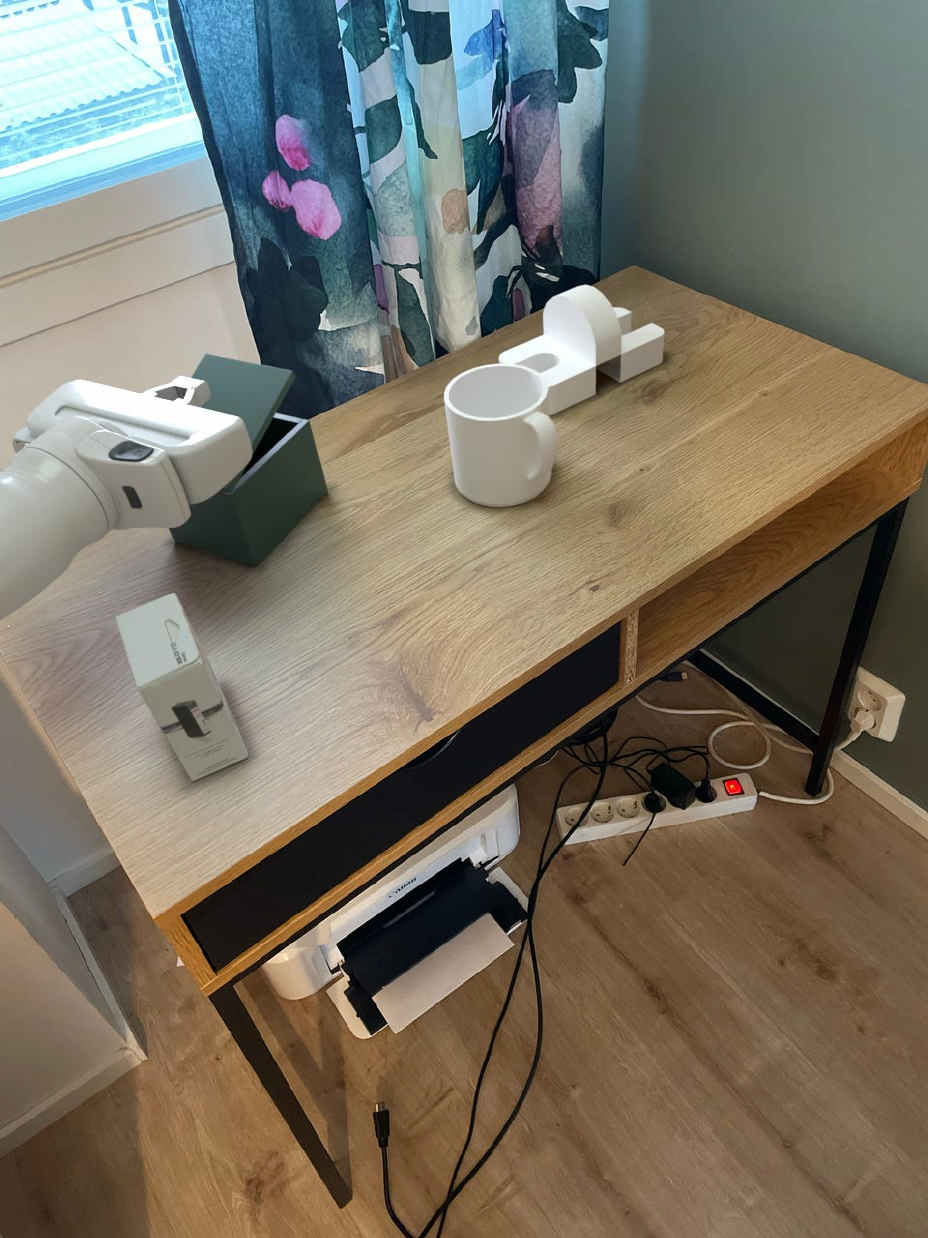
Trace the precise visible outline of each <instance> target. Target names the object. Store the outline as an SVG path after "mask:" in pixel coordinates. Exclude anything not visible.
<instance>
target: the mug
mask: <svg viewBox="0 0 928 1238" xmlns="http://www.w3.org/2000/svg"><path fill="white" fill-rule="evenodd" d="M443 402H444V409H445V416H446V424H447V432H448V441H449V447H450V454H451V462H452V469H453V478H454V485H455V488H457V491H458V492H459V493H460V494H461V495H462V496H463V497H464V498H465V499H466V500H468V501H470V502H472V503H474V504H476V505H480V506H484V507H490V508H508V507H514V506H518V505H522V504H525V503H527V502H530V501H531V500H533V499H535V498H537V497H538V496H539V495H540V494H542V493H543V492H544V490H546V488H547V487H548V486H549V484H550V482H551V478H552V469H553V468H554V467H553V466H554V464H555V460H556V457H557V449H558V437H557V436H558V435H557V431H556V427H555V424H554V422H553V420H552V419H551V418H550V415H549V392H548V385H547V381H546V380H545V378H544V377H543V376H542V375H541V374H540V373H538V372H537V371H535V370H533V369H531V368H528V367H525V366H521V365H515V364H499V363H490V364H484V365H480V366H476V367H473V368H470V369H468V370H466V371H464V372H462V373H460V374H458V375H456V377H454V378H453V379H452V380H451V381H449V383H448V384H447V385H446V387H445V390H444V392H443Z"/></svg>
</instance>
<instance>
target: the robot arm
mask: <svg viewBox="0 0 928 1238" xmlns="http://www.w3.org/2000/svg"><path fill="white" fill-rule="evenodd" d="M210 398H211V391H210V388H209V385H208V383H207V382H206V381H201V380H196V379H192V378H191V377H187V376H184V375H179V376H178V377H176V378H175V379H173V380H172V381H170V383H167V384H162V385H160V386H157V387H153V388H150V389H147V390H145V391H144V392H143V393H139V392H135V391H131V390H126V389H123V388H119V387H118V388H117V387H113V386H110V385H105V384H101V383H96V382H92V381H89V380H85V379H75V380H71V381H68V382H65V383H63V384H62V385H60V386H59V387H57V389H55V390H54V391H53V392H51V394H49V395H48V396H47V397H46V398H44V400H42V401H41V402H40V403H39V404H38V405H37V406H36V407H35V408H34V409H33V410H32V411H31V412H30V413H29V415H28V416H27V418H26V420H25V426H24V427H22V428H21V429H19V430H18V431H17V432H16V433H14V435H13V436H12V439H13V440H12V447H13V451H14V452H15V454H14V455H13V457H12V458H11V459H10V460H9V463H8V464H7V465H6V466H5V467H4V468H0V621H2V620H3V619H5V618H7V617H9V616H10V615H12V614H13V613H15V612H16V611H18V610H19V609H21V608H22V607H23V606H25V605H26V604H28V603H29V602H30V601H31V600H33V599H34V598H36V597H37V596H38V595H39V594H40V593H41V592H43V591H44V590H45V589H47V588H48V587H49V586H50V585H51V584H52V583H53V582H55V581H56V580H58V578H59V577H60V576H61V575H63V573H65V572H66V571H67V569H68V568H69V567H70V566H71V564H72V562H73V560H74V558H75V557H76V556H77V555H78V553H80V552H81V551H82V550H83V549H85V548H86V547H88V546H90V545H93V544H95V543H97V542H99V541H100V540H102V539H103V538H104V537H106V535H108V534H109V533H110V532H112V530H114V531H124V530H129V529H140V528H141V529H142V528H157V529H159V528H160V529H161V528H162V529H163V528H164V529H167V528H168V529H169V528H175V527H179V526H181V525H182V524H184V523H185V522H186V521H187V520H188V519H189V518H190V516H191V511H190V508H189V505H191V504H197V503H200V502H203V501H205V500H207V499H209V498H210V497H212V496H213V495H215V494H216V493H217V492H218V491H220V490H221V489H222V488H223V487H224V486H225V485H227V484H228V483H229V482H230V481H231V480H232V479H233V478H234V477H235V476H236V475H237V474H238V473H239V472H241V471H242V470H243V468H244V467H245V466H246V465H247V464H248V463H249V462H250V460H251V458H252V445H251V441H250V437H249V434H248V431H247V429H246V426H245V423H244V421H243V420H242V419H241V418H240V417H237V416H233V415H228V414H224V413H220V412H216V411H211V410H207V409H203V408H201V406H202V405H203V404H205V403H206V402H207V401H208V400H209V399H210Z"/></svg>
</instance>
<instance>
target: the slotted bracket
mask: <svg viewBox="0 0 928 1238" xmlns="http://www.w3.org/2000/svg"><path fill="white" fill-rule="evenodd" d="M542 313H543V314H542V325H543V334H542V335H539V336H537V337H535V338H532V339H530V340H528V341H525V342H524V343H521V344H519V345H516V346H513V347H512V348H509V349H507V350H505V351H503V352H502V353H500V354H499V355H498V364H515V365H521V366H525V367H528V368H531V369H533V370H535V371H537V372H538V373H540V374H541V375H542V376H543V377H544V378H545V380H546V381H547V385H548V392H549V416H553V415H555V414H557V413H560V412H561V411H563V410H566V409H569V408H570V407H573V406H574V405H576V404H578V403H581V402H582V401H584V400H587V399H589V398H591V397H593V396H596V395H597V391H596V388H597V386H596V385H597V378H596V377H597V370H598V371H600V372H602V373H603V374H605V375H606V376H608V377H610V378H612V379H613V380H615V381H616V382H618V383H623V382H625V381H627V380H630V379H631V378H634V377H635V376H637V375H639V374H642V373H644V372H646V371H648V370H650V369H652V368H655V367H657V366H659V365H661V364H662V363H663V361H664V345H665V329H664V328H663V327H662V326H659V325H658V324H656V323H653V322H651V323H648V324H645V325H644V326H642V327H640V328H637V329H634V330H632V314H633V313H632V311H630V310H629V309H627V308H625V307H616V306H615V307H614V306H612V303H611V302H610V301H609V299H608V298H607V296H606V295H604V293H603V292H601V291H600V290H598V289H597V288H596V287H595V286H591V285H588V284H583V285H578V286H575V287H573V288H570V289H569V290H566V291H563V292H562V293H559V294H556V295H554V296H552V297H551V298H550V299H549V300H548V301H547V302H546V303H545V306H544V309H543V312H542Z"/></svg>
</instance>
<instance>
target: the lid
mask: <svg viewBox="0 0 928 1238" xmlns="http://www.w3.org/2000/svg"><path fill="white" fill-rule="evenodd" d="M296 377H297V376H296V374H295V372H294V371H293V370H291V369H284V368H280V367H275V366H270V365H265V364H261V363H255V362H251V361H245V360H240V359H236V358H232V357H226V356H222V355H217V354H216V355H215V354H211V353H207V352H206V353H204V355H203V357H202V359H201V361H200V362H199V364H198V366H197V367H196V368H195V371H194V372H193V374H192V375H191V377H190V378H192V379H196V380H201V381H206V382H207V383H208V385H209V388H210V391H211V398H210V399H209V400H208V401H207V402H206V403H205V404H203V405H202V406H201V408H203V409H207V410H211V411H216V412H220V413H224V414H228V415H233V416H237V417H240V418H241V419H242V420H243V421H244V423H245V426H246V429H247V431H248V434H249V437H250V441H251V445H252V455H253V453H254V452H255V450H256V448H257V446H258V444H259V442H260V441H261V439H262V437H263V435H264V433H265V432H266V430H267V428H268V426H269V424H270V423H271V421H272V419H273V417H274V415H275V413H278V410H279V408H280V406H281V405H282V402H283V401H284V399H285V397H286V396H287V394H288V391H289V389H290V388H291V386H292V384H293V383H294V381H295V379H296ZM246 466H247V465H246ZM246 466H245V467H244V468H243V470H242V471H241V472H239V473H238V474H237V475H236V476H235V477H234V478H233V479H232V480H231V481H230V482H229V483H228V484H227V485H225V486H224V487H223V488H222V489H221V491H224V492H228V493H232V491H233V490H234V488H235V486H236V484H237V482H238V481H239V479H240V477H241V475H242V473H243V471H244V470H245V468H246Z"/></svg>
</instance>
